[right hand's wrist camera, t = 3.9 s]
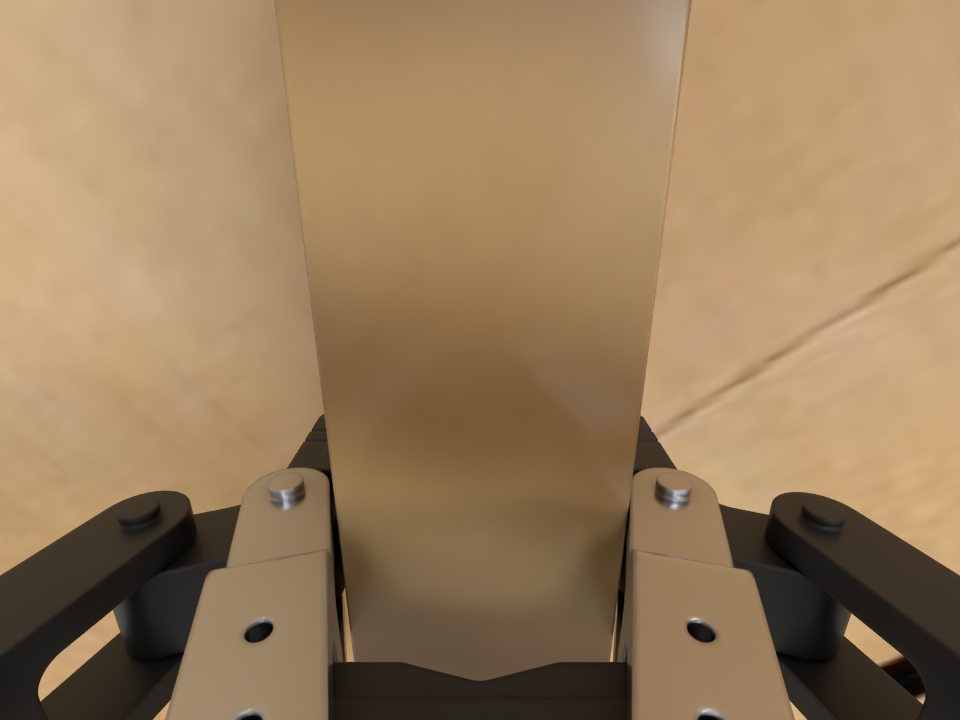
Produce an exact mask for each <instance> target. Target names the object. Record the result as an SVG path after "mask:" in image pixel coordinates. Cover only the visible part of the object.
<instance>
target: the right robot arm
mask: <svg viewBox="0 0 960 720" xmlns="http://www.w3.org/2000/svg"><path fill="white" fill-rule="evenodd" d="M344 588H345V581H344V573H343V565H342V556H341V548H340V540H339V531H338V523H337V515H336V506H335V498H334V490H333V481H332V473H331V465H330V457H329V448H328V440H327V432H326V423H325V415H324V414H323V415H322V416H320V417H319V419H318V420H317V422H316V424H315V425H314V427H313V428H312V432H310V433H309V435H308V436H307V438H306V441H305V442H303V444H302V446H301V447H300V449H299V450H298V452H297V453H296V455H295V457H294V458H293V460H292V461H291V463H290V465H289V466H288V468H287V469H283V470H279V471H276V472H273V473H270V474H268V475H266V476H264V477H262V478H260V479H258V480H257V481H255V482H254V483H253V484H251V485H250V486H249V487H248V489H247V490H246V491H245V493H244V496H243V499H242V503H241V505H238V506H234V507H230V508H225V509H220V510H215V511H210V512H205V513H200V514H194V515H193V512H192V507H191V503H190V500H189V498H188V497H187V496H186V495H184V494H182V493H179V492H174V491H155V492H149V493H145V494H140V495H137V496H134V497H131V498H128V499H126V500H123V501H121V502H119V503H117V504H115V505H113V506H111V507H109V508H108V509H106V510H105V511H103V512H101V513H100V514H98V515H97V516H95V517H93V518H92V519H90V520H89V521H87V522H85V523H84V524H82V525H81V526H79V527H77V528H76V529H74V530H73V531H71V532H69V533H68V534H66V535H65V536H63V537H61V538H60V539H58V540H57V541H55V542H53V543H52V544H50V545H49V546H47V547H45V548H44V549H42V550H41V551H39V552H37V553H36V554H34V555H33V556H31V557H29V558H28V559H26V560H25V561H23V562H21V563H20V564H18V565H17V566H15V567H13V568H12V569H10V570H9V571H7V572H5V573H4V574H2V575H1V576H0V720H153V719H154V718H155V717H156V715H157V714H158V713H159V712H160V711H161V710H162V709H163V708H164V707H165V706H166V704H167V703H168V702H169V701H170V700H171V701H170V704H169V708H168V712H167V715H166V719H165V720H795V718H794V715H793V711H792V708H791V704H790V701H791V702H792V703H793V704H794V705H795V707H796V708H797V709H798V710H799V711H800V712H801V713H802V714H803V715H804V716H805V718H806V719H807V720H960V576H959V575H958V574H956V573H955V572H953V571H951V570H950V569H948V568H947V567H945V566H943V565H942V564H940V563H939V562H937V561H935V560H934V559H932V558H931V557H929V556H927V555H926V554H924V553H923V552H921V551H919V550H918V549H916V548H915V547H913V546H911V545H910V544H908V543H907V542H905V541H903V540H902V539H900V538H899V537H897V536H895V535H894V534H892V533H891V532H889V531H887V530H886V529H884V528H883V527H881V526H879V525H878V524H876V523H875V522H873V521H871V520H870V519H868V518H867V517H865V516H864V515H862V514H860V513H859V512H857V511H856V510H854V509H852V508H850V507H849V506H847V505H845V504H843V503H840V502H838V501H836V500H833V499H830V498H827V497H824V496H820V495H816V494H811V493H804V492H789V493H784V494H781V495H779V496H777V497H775V499H774V500H773V502H772V505H771V509H770V513H769V515H766V514H761V513H756V512H751V511H746V510H741V509H736V508H731V507H727V506H724V505H721V504H719V503H718V499H717V496H716V493H715V491H714V490H713V488H712V487H711V486H710V485H709V484H707V483H706V482H705V481H703V480H702V479H700V478H698V477H696V476H694V475H692V474H690V473H687V472H684V471H681V470H677V469H676V467H675V466H674V464H673V463H672V461H671V459H670V458H669V456H668V455H667V453H666V452H665V450H664V449H663V447H662V445H661V444H660V442H658V439H657V438H656V436H655V435H654V433H653V432H651V428H650V427H649V425H648V424H647V422H646V421H645V419H644V418H643V417H642V416H640V421H639V429H638V438H637V446H636V454H635V462H634V470H633V478H632V486H631V494H630V502H629V510H628V518H627V526H626V535H625V543H624V551H623V559H622V567H621V575H620V583H619V591H618V599H617V607H616V615H615V631H614V652H613V662H557V663H553V664H549V665H545V666H541V667H537V668H533V669H529V670H525V671H521V672H517V673H513V674H509V675H505V676H501V677H497V678H493V679H489V680H484V681H476V680H471V679H467V678H463V677H459V676H455V675H451V674H447V673H443V672H439V671H435V670H431V669H427V668H423V667H419V666H415V665H411V664H407V663H403V662H347V652H346V631H345V610H344V599H343V591H344ZM112 610H113V611H114V614H115V617H116V620H117V623H118V626H119V629H120V633H119V634H118V635H117V636H116V637H114V638H113V639H112V640H111V641H110V642H109V643H107V644H106V645H105V646H104V647H103V648H102V649H101V650H99V651H98V652H97V653H96V654H95V655H94V656H93V657H91V658H90V659H89V660H88V661H87V662H86V663H85V664H83V665H82V666H81V667H80V668H79V669H78V670H76V671H75V672H74V673H73V674H72V675H71V676H70V677H68V678H67V679H66V680H65V681H64V682H63V683H62V684H60V685H59V686H58V687H57V688H56V689H55V690H54V691H52V692H51V693H50V694H49V695H48V696H47V697H45V698H44V699H43V700H42V701H41V702H40V700H39V696H38V687H39V683H40V680H41V678H42V675H43V673H44V672H45V670H46V668H47V667H48V665H49V664H50V663H51V662H52V660H53V659H54V658H55V657H56V656H57V655H58V654H59V653H60V652H62V651H63V650H64V649H65V648H66V647H68V646H69V645H70V644H71V643H73V642H74V641H75V640H76V639H77V638H79V637H80V636H81V635H82V634H84V633H85V632H86V631H87V630H88V629H90V628H91V627H92V626H93V625H95V624H96V623H97V622H98V621H99V620H101V619H102V618H103V617H104V616H106V615H107V614H108V613H109V612H110V611H112ZM851 613H852V614H853V615H854V616H856V617H857V618H858V619H859V620H861V621H862V622H863V623H864V624H865V625H867V626H868V627H869V628H870V629H872V630H873V631H874V632H875V633H877V634H878V635H879V636H880V637H881V638H883V639H884V640H885V641H886V642H888V643H889V644H890V645H891V646H892V647H894V648H895V649H896V650H897V651H899V652H900V653H901V654H902V655H903V656H904V657H905V658H907V659H908V661H909V662H910V663H911V664H912V665H913V666H914V668H915V669H916V670H917V672H918V674H919V675H920V677H921V679H922V681H923V684H924V687H925V693H926V694H925V701H924V704H921V703H920V702H919V701H918V700H917V699H916V698H915V697H913V696H912V695H911V694H910V693H909V692H908V691H907V690H905V689H904V688H903V687H902V686H901V685H900V684H898V683H897V682H896V681H895V680H894V679H893V678H892V677H890V676H889V675H888V674H887V673H886V672H885V671H884V670H882V669H881V668H880V667H879V666H878V665H877V664H876V663H874V662H873V661H872V660H871V659H870V658H869V657H867V656H866V655H865V654H864V653H863V652H862V651H861V650H859V649H858V648H857V647H856V646H855V645H854V644H853V643H851V642H850V641H849V640H848V639H847V638H846V637H845V636H844V633H845V630H846V627H847V624H848V621H849V618H850V616H851ZM789 700H790V701H789Z"/></svg>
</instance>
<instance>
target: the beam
mask: <svg viewBox="0 0 960 720" xmlns="http://www.w3.org/2000/svg"><path fill="white" fill-rule="evenodd" d="M691 1H692V0H275V8H276V16H277V25H278V33H279V41H280V49H281V58H282V66H283V74H284V83H285V91H286V99H287V108H288V116H289V124H290V133H291V141H292V149H293V157H294V166H295V174H296V182H297V191H298V199H299V207H300V216H301V224H302V232H303V241H304V249H305V257H306V265H307V274H308V282H309V290H310V299H311V307H312V315H313V324H314V332H315V340H316V349H317V357H318V365H319V373H320V382H321V390H322V398H323V407H324V415H325V423H326V432H327V440H328V448H329V457H330V465H331V473H332V481H333V490H334V498H335V506H336V515H337V523H338V531H339V540H340V548H341V556H342V565H343V573H344V581H345V589H346V598H347V606H348V614H349V623H350V631H351V639H352V648H353V656H354V662H403V663H407V664H411V665H415V666H419V667H423V668H427V669H431V670H435V671H439V672H443V673H447V674H451V675H455V676H459V677H463V678H467V679H471V680H476V681H484V680H489V679H493V678H497V677H501V676H505V675H509V674H513V673H517V672H521V671H525V670H529V669H533V668H537V667H541V666H545V665H549V664H553V663H557V662H610V656H611V648H612V640H613V631H614V623H615V615H616V607H617V599H618V591H619V583H620V575H621V567H622V559H623V551H624V543H625V535H626V526H627V518H628V510H629V502H630V494H631V486H632V478H633V470H634V462H635V454H636V446H637V438H638V429H639V421H640V413H641V405H642V397H643V389H644V381H645V373H646V365H647V357H648V349H649V341H650V333H651V324H652V316H653V308H654V300H655V292H656V284H657V276H658V268H659V260H660V252H661V244H662V236H663V228H664V219H665V211H666V203H667V195H668V187H669V179H670V171H671V163H672V155H673V147H674V139H675V131H676V122H677V114H678V106H679V98H680V90H681V82H682V74H683V66H684V58H685V50H686V42H687V34H688V26H689V17H690V9H691Z"/></svg>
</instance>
